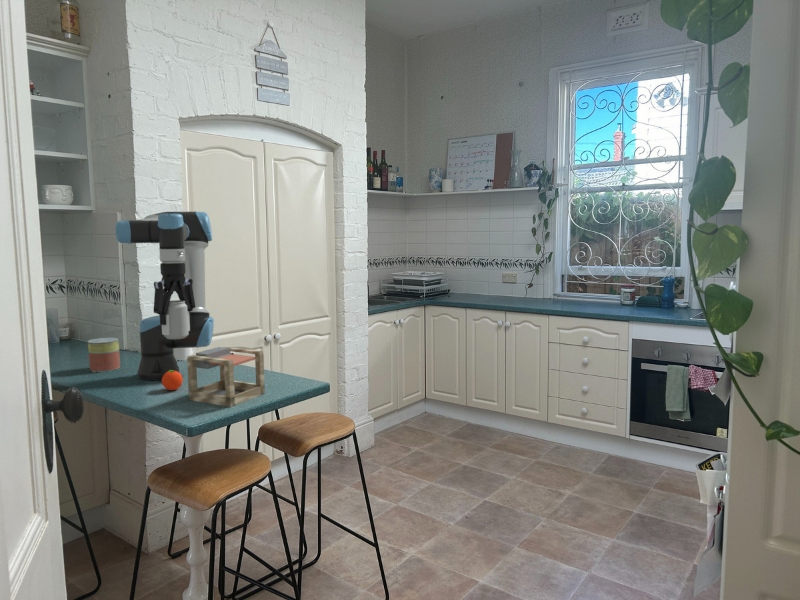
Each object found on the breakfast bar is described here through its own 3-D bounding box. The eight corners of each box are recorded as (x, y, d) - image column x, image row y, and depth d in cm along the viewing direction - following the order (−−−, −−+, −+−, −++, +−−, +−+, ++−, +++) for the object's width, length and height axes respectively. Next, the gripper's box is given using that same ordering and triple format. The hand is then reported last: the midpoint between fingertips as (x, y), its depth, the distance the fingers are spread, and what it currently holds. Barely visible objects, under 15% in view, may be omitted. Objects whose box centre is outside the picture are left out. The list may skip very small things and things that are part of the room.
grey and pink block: (194, 368, 197) (193, 353, 196) (221, 360, 209) (221, 346, 208) (231, 373, 190) (230, 358, 189) (257, 364, 202) (257, 350, 201)
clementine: (159, 388, 211) (158, 369, 210) (179, 385, 215) (178, 366, 214) (165, 393, 205) (164, 373, 204) (185, 390, 209) (184, 370, 208)
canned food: (126, 367, 242) (124, 338, 241) (101, 373, 232) (99, 343, 231) (108, 364, 248) (106, 336, 246) (83, 370, 238) (81, 341, 236)
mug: (177, 362, 252) (176, 340, 251) (166, 359, 258) (165, 338, 257) (202, 357, 261) (201, 336, 260) (192, 354, 267) (191, 334, 266)
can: (187, 339, 189) (185, 302, 188) (162, 340, 187) (160, 302, 186) (189, 335, 196) (188, 299, 195) (165, 336, 195) (163, 300, 193)
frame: (189, 399, 197) (186, 355, 195) (224, 387, 212) (223, 346, 210) (230, 407, 189) (228, 361, 187) (264, 393, 204) (263, 351, 203)
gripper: (154, 264, 178) (158, 338, 181) (205, 260, 196) (208, 328, 199) (137, 263, 182) (141, 336, 185) (189, 260, 200) (192, 327, 202)
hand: (176, 332), depth 192 cm, fingers closed on can, 7 cm apart
